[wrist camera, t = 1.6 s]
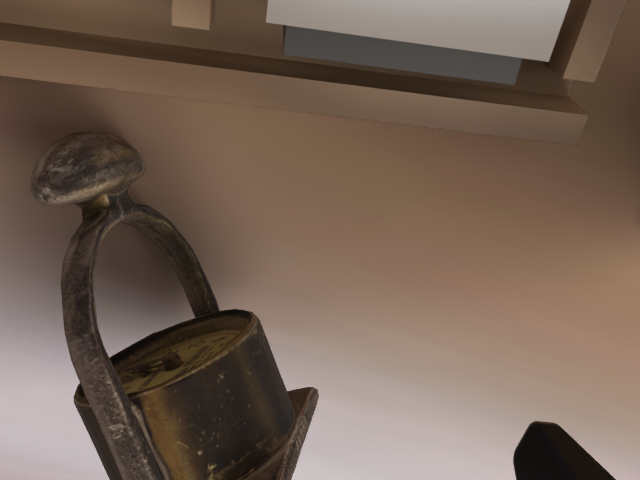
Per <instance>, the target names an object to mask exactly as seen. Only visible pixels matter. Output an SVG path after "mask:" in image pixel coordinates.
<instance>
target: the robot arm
mask: <svg viewBox="0 0 640 480" xmlns="http://www.w3.org/2000/svg"><path fill="white" fill-rule="evenodd" d="M513 463H514V469H515V475H516V480H616V479H615V478H614V477H613V476H611V475H610V474H609V473H608V472H607V471H606V470H605V469H604V468H603V467H602V466H601V465H600V464H599V463H598V462H597V461H596V460H595V459H594V458H593V457H592V456H591V455H590V454H588V453H587V452H586V451H585V450H584V449H583V448H582V447H581V446H580V445H579V444H578V443H577V442H576V441H575V440H574V439H573V438H572V437H571V436H570V435H569V434H568V433H566V432H565V431H564V430H563V429H562V428H561V427H560V426H559V425H557V424H555V423H551V422H540V421H535V422H533V423H531V424H530V425H529V426H528V428H527V430H526V432H525V433H524V435H523V437H522V439H521V440H520V442H519V444H518V446H517V447H516V449H515V452H514V458H513Z"/></svg>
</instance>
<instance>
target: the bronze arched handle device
mask: <svg viewBox="0 0 640 480" xmlns="http://www.w3.org/2000/svg"><path fill="white" fill-rule="evenodd" d="M144 171H145V165H144V162H143V160H142V158H141V156H140V154H139V153H138V152H137V150H136V149H135V148H133V147H132V146H131V145H129V144H128V143H127V142H126V141H124V140H123V139H121V138H118V137H116V136H113V135H111V134H108V133H101V132H92V131H88V132H80V133H72V134H70V135H68V136H66V137H64V138H62V139H60V140H58V141H56V142H55V143H54V144H53V145H51V146H50V147H49V148H48V149H47V150H46V151H45V152H44V153H43V154H42V156H41V157H40V158H39V160H38V161H37V164H36V166H35V169H34V171H33V173H32V176H31V193H32V194H33V196H34V197H35V198H36V200H37V201H38V202H40V203H43V204H47V205H50V206H63V205H69V204H76V205H77V206H79V207H80V208H82V215H83V222H82V224H81V225H80V227H79V228H78V230H77V231H76V233H75V234H74V235H73V237H72V239H71V241H70V244H69V246H68V249H67V251H66V254H65V258H64V262H63V267H62V279H61V290H62V305H63V319H64V330H65V336H66V340H67V344H68V348H69V353H70V357H71V361H72V363H73V366H74V368H75V371H76V373H77V376H78V378H79V381H80V384H79V385H78V386H77V389H76V392H75V395H74V403H75V406H76V408H77V410H78V412H79V414H80V416H81V418H82V420H83V422H84V425H85V427H86V429H87V431H88V433H89V435H90V437H91V439H92V442H93V444H94V446H95V448H96V450H97V452H98V455H99V457H100V459H101V461H102V463H103V466H104V468H105V470H106V472H107V475H108V477H109V479H110V480H291V478H292V476H293V473H294V470H295V467H296V464H297V461H298V458H299V455H300V451H301V448H302V446H303V443H304V440H305V438H306V434H307V431H308V428H309V425H310V422H311V419H312V416H313V414H314V411H315V408H316V405H317V401H318V397H319V396H318V390H317V389H315V388H314V387H307V388H301V389H296V390H292V391H288V392H287V390H286V388H285V385H284V383H283V380H282V378H281V375H280V373H279V370H278V367H277V365H276V362H275V359H274V357H273V354H272V351H271V349H270V346H269V343H268V341H267V338H266V336H265V333H264V330H263V328H262V325H261V323H260V320H259V318H258V317H257V316H256V315H255V314H254V313H253V312H249V311H245V310H237V309H232V310H224V311H219V308H218V304H217V301H216V299H215V296H214V294H213V292H212V290H211V287H210V285H209V283H208V280H207V278H206V276H205V274H204V272H203V270H202V268H201V265H200V263H199V261H198V259H197V257H196V255H195V253H194V251H193V249H192V248H191V247H190V245H189V244H188V243H187V241H186V240H185V239H184V237H183V236H182V235H181V234H180V232H179V231H178V230H177V229H176V227H175V226H174V225H173V224H172V222H170V221H169V220H168V219H166V218H165V217H164V216H163V215H161V214H160V213H159V212H157V211H156V210H154V209H152V208H150V207H148V206H147V205H140V204H135V203H133V202H132V200H131V199H130V197H129V196H128V195H127V188H128V186H129V185H130V183H132V182H134V181H135V180H136V179H138V178H139V177H141V176H142V175H143V174H144ZM119 222H124V223H127V224H130V225H132V226H134V227H137V228H138V229H140V230H141V231H143V232H144V233H145V234H147V235H148V236H150V237H151V238H152V239H153V240H154V241H155V242H156V243H157V244H158V245H159V246H160V248H161V249H162V250H163V251H164V252H165V254H166V256H167V257H168V259H169V261H170V262H171V264H172V265H173V267H174V269H175V271H176V273H177V275H178V277H179V279H180V282H181V284H182V286H183V288H184V290H185V293H186V296H187V298H188V301H189V303H190V306H191V308H192V310H193V313H194V315H195V318H194V319H191V320H188V321H185V322H181V323H179V324H176V325H174V326H171V327H169V328H166V329H164V330H161V331H159V332H156V333H153V334H151V335H149V336H147V337H145V338H144V339H142V340H140V341H138V342H136V343H134V344H132V345H131V346H129V347H127V348H125V349H124V350H122V351H120V352H118V353H117V354H115V355H113V356H111V357H110V358H109V357H108V355H107V353H106V350H105V348H104V346H103V343H102V340H101V336H100V333H99V330H98V325H97V316H96V307H95V299H94V267H95V259H96V256H97V253H98V250H99V247H100V244H101V241H102V239H103V238H104V236H105V235H106V234H107V233H108V231H109V230H110V229H111V228H112V227H114V226H115V225H116V224H118V223H119Z"/></svg>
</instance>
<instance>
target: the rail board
mask: <svg viewBox="0 0 640 480" xmlns="http://www.w3.org/2000/svg"><path fill="white" fill-rule="evenodd" d="M627 1H628V0H0V76H8V77H16V78H24V79H32V80H41V81H49V82H57V83H65V84H73V85H82V86H90V87H98V88H106V89H115V90H123V91H131V92H139V93H147V94H156V95H164V96H172V97H180V98H189V99H197V100H205V101H213V102H222V103H230V104H238V105H246V106H254V107H263V108H271V109H279V110H287V111H296V112H304V113H312V114H320V115H329V116H337V117H345V118H353V119H361V120H370V121H378V122H386V123H394V124H403V125H411V126H419V127H427V128H436V129H444V130H452V131H460V132H468V133H477V134H485V135H493V136H501V137H510V138H518V139H526V140H534V141H543V142H551V143H559V144H567V145H575V146H577V144H578V142H579V139H580V137H581V134H582V132H583V130H584V127H585V125H586V122H587V120H588V117H589V115H588V114H587V113H586V112H585V111H583V110H582V109H581V108H580V107H579V106H578V105H577V104H576V103H574V102H573V101H572V100H571V99H570V98H569V94H570V92H571V89H572V87H573V84H574V81H575V80H578V81H585V82H592V83H595V80H596V78H597V75H598V73H599V70H600V68H601V65H602V63H603V60H604V58H605V56H606V53H607V51H608V48H609V46H610V43H611V41H612V38H613V36H614V33H615V31H616V28H617V26H618V23H619V21H620V18H621V16H622V13H623V11H624V8H625V6H626V4H627Z"/></svg>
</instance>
